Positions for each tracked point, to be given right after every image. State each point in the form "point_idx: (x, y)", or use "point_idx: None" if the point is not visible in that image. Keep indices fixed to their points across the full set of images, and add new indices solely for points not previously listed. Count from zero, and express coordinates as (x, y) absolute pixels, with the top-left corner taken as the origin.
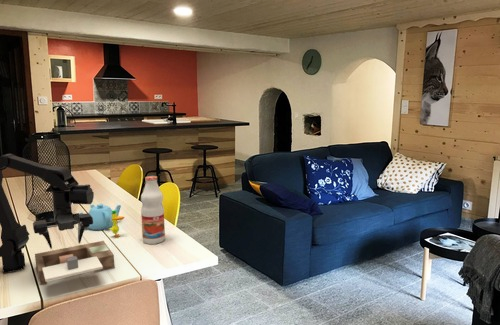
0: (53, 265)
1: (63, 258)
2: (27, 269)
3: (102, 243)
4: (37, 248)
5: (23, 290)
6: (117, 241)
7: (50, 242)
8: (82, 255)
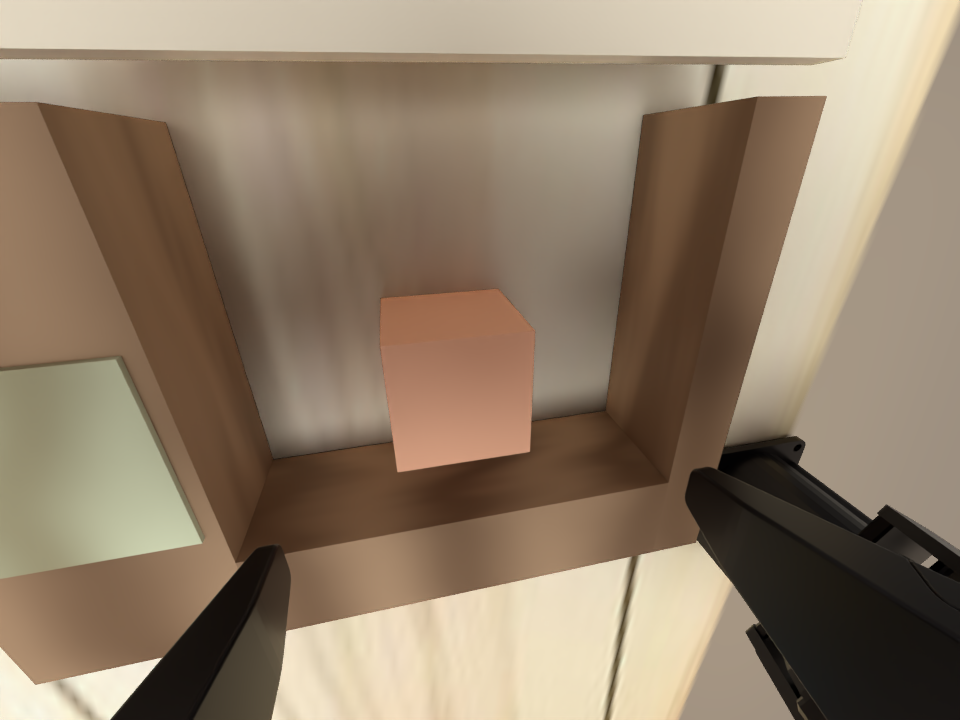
0: (710, 52)
1: (498, 393)
2: None
3: (27, 624)
4: (572, 670)
5: (818, 79)
6: (29, 707)
7: (810, 541)
8: (306, 490)
